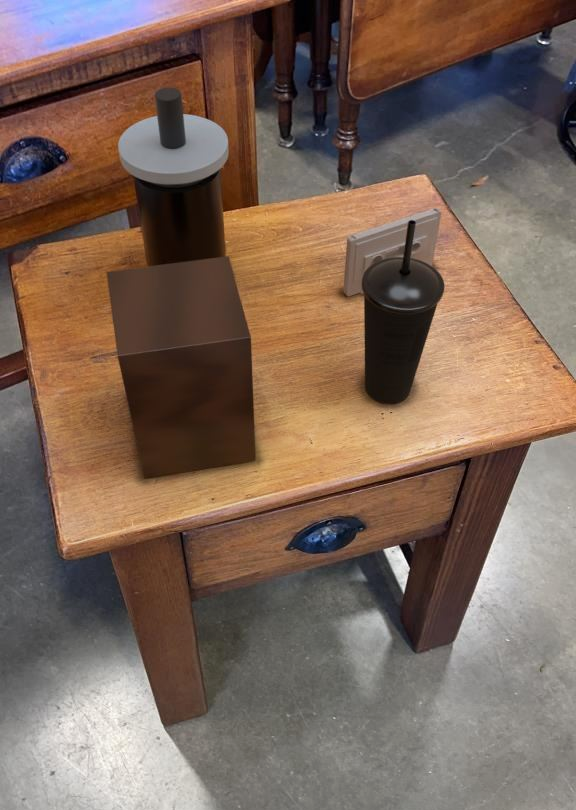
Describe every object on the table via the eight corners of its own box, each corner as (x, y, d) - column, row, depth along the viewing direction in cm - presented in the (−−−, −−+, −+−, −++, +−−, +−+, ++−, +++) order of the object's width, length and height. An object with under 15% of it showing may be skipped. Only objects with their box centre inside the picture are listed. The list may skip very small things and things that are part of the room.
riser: (144, 478, 80) (117, 356, 67) (132, 397, 86) (106, 271, 73) (255, 460, 81) (251, 337, 68) (236, 382, 88) (228, 255, 75)
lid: (125, 190, 82) (115, 129, 77) (115, 130, 88) (105, 71, 83) (237, 177, 83) (234, 117, 78) (219, 119, 89) (215, 60, 84)
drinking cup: (424, 365, 89) (455, 199, 73) (423, 417, 85) (457, 252, 69) (353, 359, 90) (369, 193, 74) (349, 411, 85) (365, 246, 69)
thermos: (154, 306, 95) (134, 183, 82) (145, 257, 100) (125, 134, 88) (233, 295, 96) (226, 172, 83) (220, 247, 101) (211, 125, 89)
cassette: (348, 300, 96) (353, 243, 89) (340, 290, 97) (344, 234, 90) (434, 269, 99) (445, 213, 93) (426, 260, 100) (435, 204, 94)
